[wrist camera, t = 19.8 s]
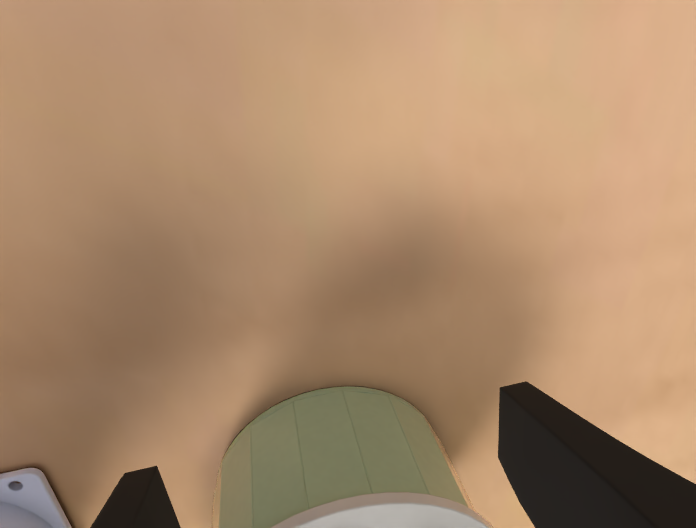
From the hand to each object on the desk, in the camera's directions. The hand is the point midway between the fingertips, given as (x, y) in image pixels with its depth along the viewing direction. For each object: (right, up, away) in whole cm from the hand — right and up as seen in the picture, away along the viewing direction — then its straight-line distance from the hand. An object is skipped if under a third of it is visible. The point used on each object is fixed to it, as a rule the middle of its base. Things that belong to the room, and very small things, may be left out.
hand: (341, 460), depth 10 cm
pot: (-1, -7, +14) cm, 16 cm away
